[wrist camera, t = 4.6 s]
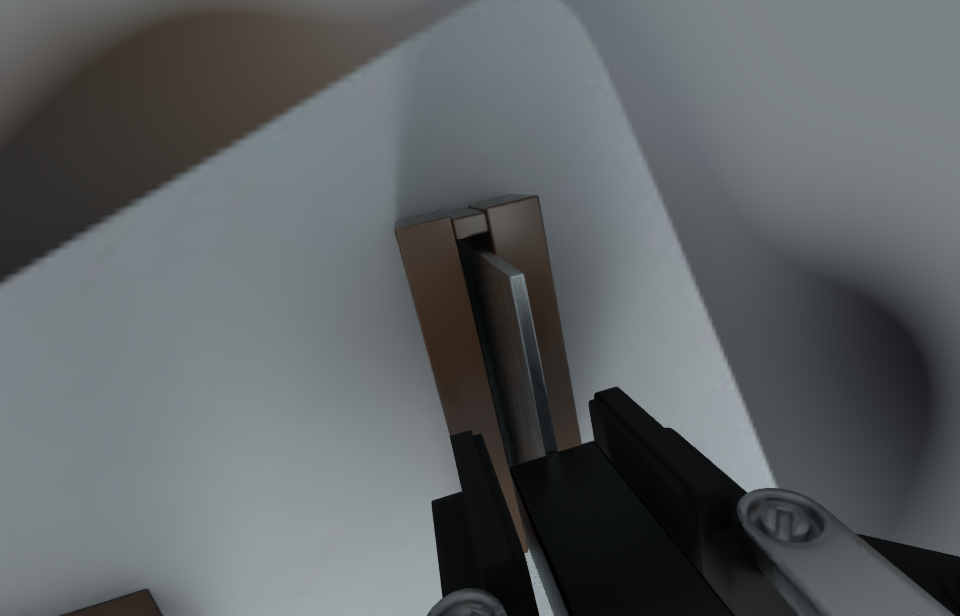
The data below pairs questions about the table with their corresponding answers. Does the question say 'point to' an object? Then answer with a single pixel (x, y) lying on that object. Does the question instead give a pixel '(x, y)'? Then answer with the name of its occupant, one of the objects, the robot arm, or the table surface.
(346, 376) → the table surface
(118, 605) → the cake
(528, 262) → the knife stand
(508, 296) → the metal dough scraper
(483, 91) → the table surface
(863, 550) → the robot arm
